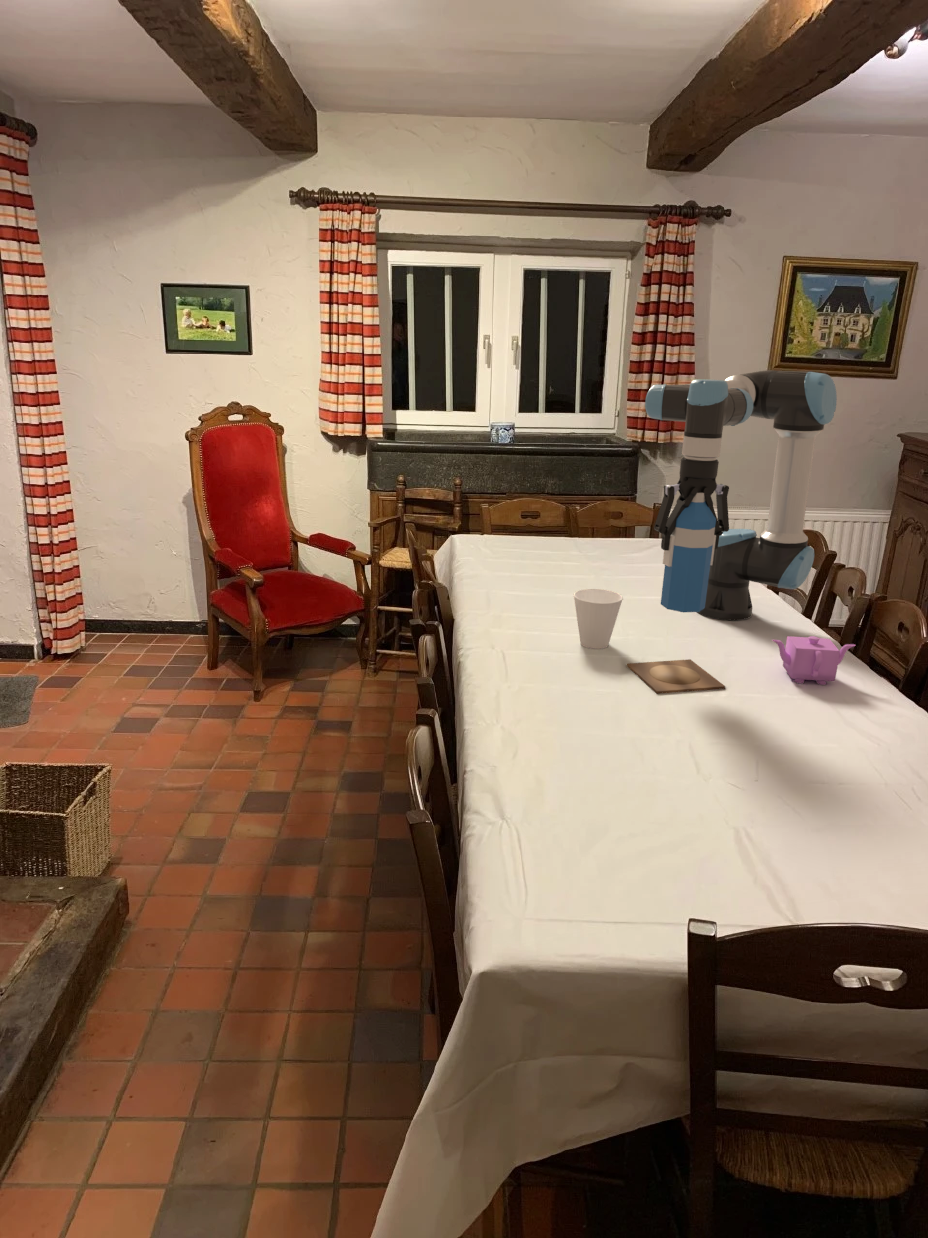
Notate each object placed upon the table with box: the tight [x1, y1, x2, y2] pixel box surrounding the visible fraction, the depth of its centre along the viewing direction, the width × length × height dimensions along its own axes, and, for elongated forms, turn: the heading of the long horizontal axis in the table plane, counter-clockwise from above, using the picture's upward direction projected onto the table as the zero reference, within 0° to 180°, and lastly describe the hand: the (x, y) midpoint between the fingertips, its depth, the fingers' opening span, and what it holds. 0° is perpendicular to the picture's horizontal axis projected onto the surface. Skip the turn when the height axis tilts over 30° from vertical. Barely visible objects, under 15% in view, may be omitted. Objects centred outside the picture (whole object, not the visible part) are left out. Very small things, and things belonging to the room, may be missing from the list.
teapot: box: [771, 635, 856, 686], centre depth 187 cm, size 18×13×10 cm
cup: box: [573, 588, 624, 650], centre depth 204 cm, size 12×12×12 cm
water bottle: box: [660, 492, 716, 613], centre depth 178 cm, size 9×9×25 cm
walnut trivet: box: [626, 658, 726, 695], centre depth 187 cm, size 16×16×1 cm
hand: (687, 564), depth 179 cm, fingers closed on water bottle, 9 cm apart
